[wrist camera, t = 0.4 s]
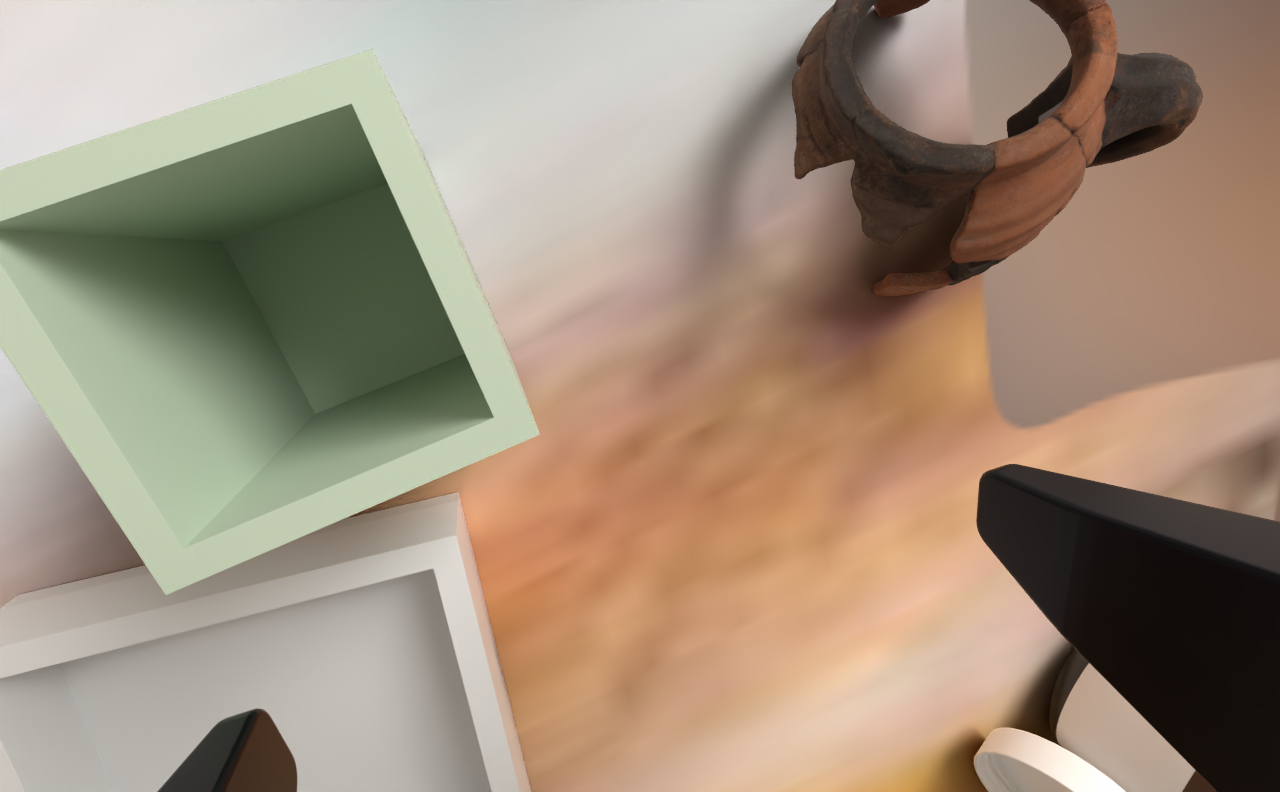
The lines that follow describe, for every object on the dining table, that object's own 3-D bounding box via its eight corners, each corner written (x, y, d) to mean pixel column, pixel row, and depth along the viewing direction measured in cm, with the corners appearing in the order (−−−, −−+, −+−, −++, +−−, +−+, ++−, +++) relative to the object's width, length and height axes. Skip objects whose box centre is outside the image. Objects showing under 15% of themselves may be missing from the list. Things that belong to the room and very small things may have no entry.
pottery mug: (798, 339, 24) (842, 244, 16) (742, 114, 26) (757, -72, 18) (1136, 269, 23) (1361, 133, 15) (1052, 42, 25) (1211, -184, 17)
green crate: (509, 353, 21) (540, 434, 12) (309, 434, 20) (165, 595, 11) (421, 149, 19) (372, 48, 10) (197, 228, 18) (-97, 200, 9)
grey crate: (533, 802, 25) (543, 887, 21) (162, 925, 22) (108, 1043, 19) (458, 491, 22) (455, 534, 18) (18, 594, 19) (-78, 666, 16)
